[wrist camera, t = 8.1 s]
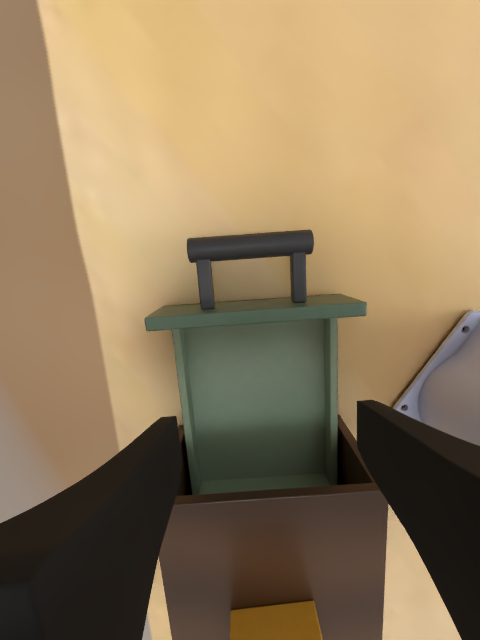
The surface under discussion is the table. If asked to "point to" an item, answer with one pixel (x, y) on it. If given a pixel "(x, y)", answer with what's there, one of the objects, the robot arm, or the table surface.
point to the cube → (276, 622)
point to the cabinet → (279, 552)
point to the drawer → (257, 373)
